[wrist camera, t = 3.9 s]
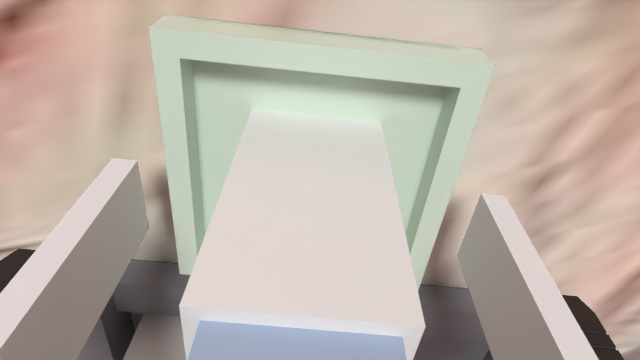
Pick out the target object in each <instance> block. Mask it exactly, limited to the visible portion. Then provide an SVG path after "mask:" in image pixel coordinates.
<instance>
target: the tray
mask: <svg viewBox="0 0 640 360" xmlns="http://www.w3.org/2000/svg"><path fill="white" fill-rule="evenodd" d="M149 35H150V43H151V51H152V59H153V67H154V74H155V82H156V90H157V98H158V106H159V114H160V122H161V130H162V138H163V146H164V154H165V162H166V170H167V177H168V185H169V193H170V201H171V209H172V217H173V225H174V233H175V241H176V249H177V257H178V265H179V273H180V274H185V275H191V272H192V270H193V267H194V264H195V262H196V259H197V256H198V253H199V251H200V248H201V245H202V243H203V240H204V237H205V234H206V232H207V229H208V226H209V224H210V221H211V218H212V216H213V213H214V210H215V207H216V205H217V202H218V199H219V197H220V194H221V191H222V188H223V186H224V183H225V180H226V178H227V175H228V172H229V169H230V167H231V164H232V161H233V159H234V156H235V153H236V151H237V148H238V145H239V142H240V140H241V137H242V134H243V132H244V129H245V126H246V123H247V121H248V118H249V115H250V113H251V110H252V109H260V110H270V111H280V112H289V113H299V114H309V115H319V116H329V117H339V118H349V119H359V120H368V121H378V122H381V124H382V128H383V133H384V138H385V142H386V147H387V151H388V156H389V161H390V165H391V170H392V174H393V179H394V184H395V188H396V193H397V197H398V202H399V207H400V211H401V216H402V220H403V225H404V230H405V234H406V239H407V243H408V248H409V253H410V257H411V262H412V266H413V271H414V276H415V280H416V285H417V289H418V290H419V287H420V284H421V281H422V278H423V275H424V272H425V269H426V267H427V264H428V261H429V258H430V255H431V252H432V249H433V246H434V243H435V240H436V237H437V234H438V232H439V229H440V226H441V223H442V220H443V217H444V214H445V211H446V208H447V205H448V202H449V199H450V197H451V194H452V191H453V188H454V185H455V182H456V179H457V176H458V173H459V170H460V167H461V164H462V162H463V159H464V156H465V153H466V150H467V147H468V144H469V141H470V138H471V135H472V132H473V129H474V127H475V124H476V121H477V118H478V115H479V112H480V109H481V106H482V103H483V100H484V97H485V94H486V92H487V89H488V86H489V83H490V80H491V77H492V74H493V71H494V68H495V64H494V63H493V61H492V60H491V59H490V58H489V57H488V56H487V55H486V54H485V53H484V52H483V51H482V50H481V49H476V48H466V47H457V46H448V45H439V44H430V43H420V42H411V41H402V40H393V39H384V38H375V37H365V36H356V35H347V34H338V33H329V32H319V31H310V30H301V29H292V28H283V27H273V26H264V25H255V24H246V23H237V22H227V21H218V20H209V19H200V18H191V17H182V16H172V15H165V16H164V17H162V18H161V19H159V20H158V21H157V22H155V23H154V24H153V25H151V26H150V27H149Z"/></svg>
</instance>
